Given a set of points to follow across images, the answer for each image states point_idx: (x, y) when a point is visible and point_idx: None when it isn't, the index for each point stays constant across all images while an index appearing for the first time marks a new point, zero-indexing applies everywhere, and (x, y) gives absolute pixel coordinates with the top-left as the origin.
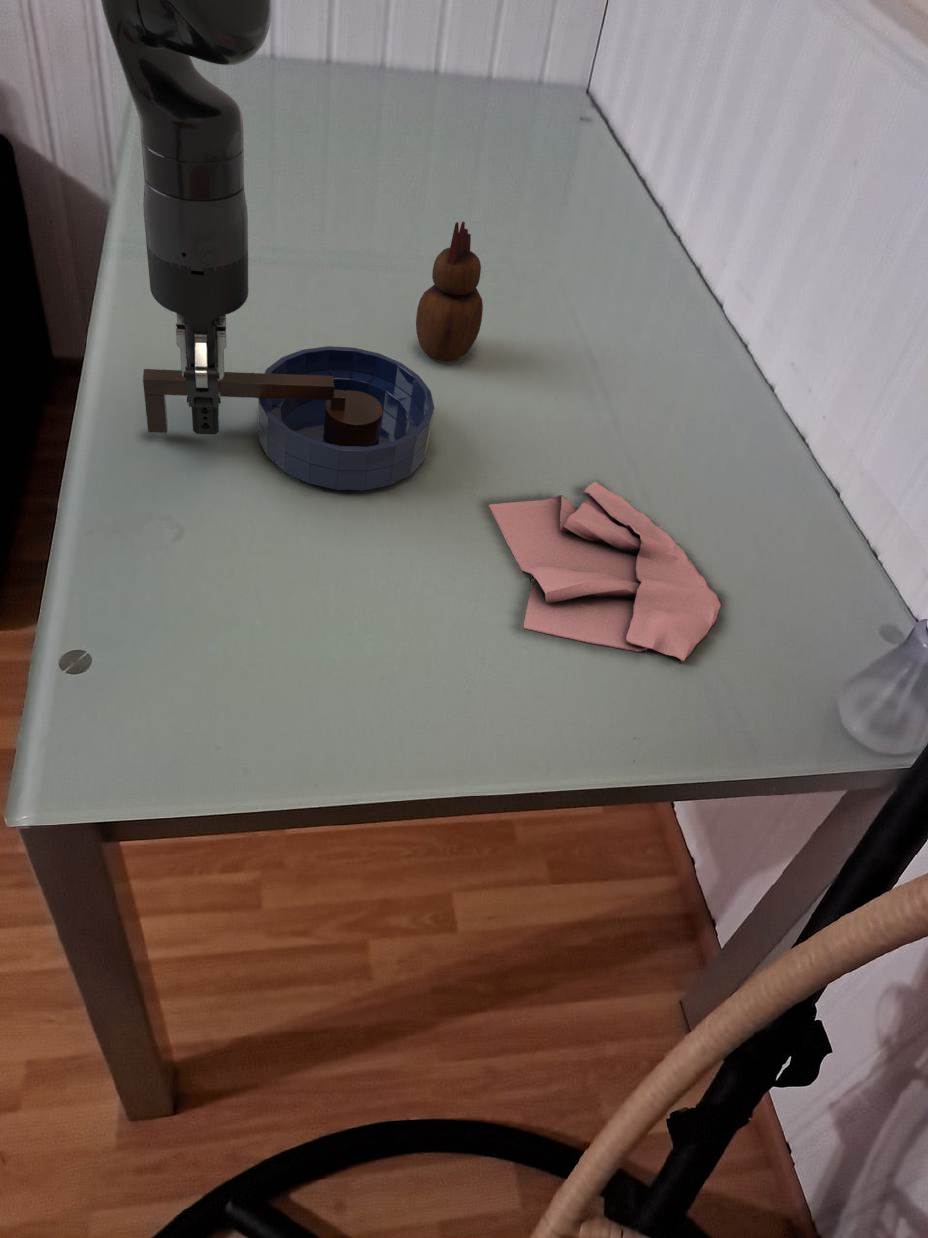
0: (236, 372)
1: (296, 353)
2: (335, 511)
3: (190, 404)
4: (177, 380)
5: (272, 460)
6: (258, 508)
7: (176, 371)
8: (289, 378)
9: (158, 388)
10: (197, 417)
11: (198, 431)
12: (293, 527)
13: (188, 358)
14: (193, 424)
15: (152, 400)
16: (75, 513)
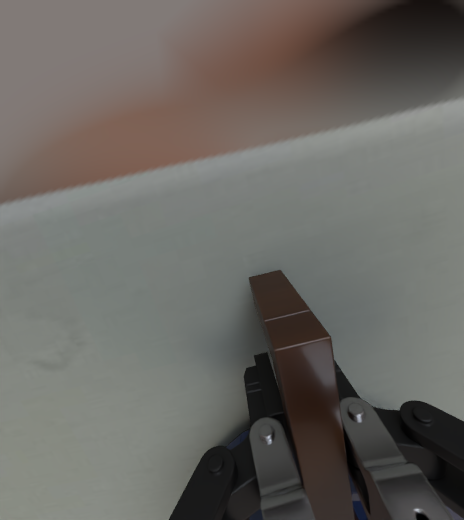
0: (352, 513)
1: (458, 517)
2: (169, 499)
3: (194, 475)
4: (291, 425)
5: (232, 442)
6: (144, 433)
7: (332, 413)
8: None
9: (274, 364)
10: (247, 398)
11: (245, 371)
12: (124, 471)
13: (366, 476)
14: (257, 365)
15: (263, 326)
16: (24, 212)
